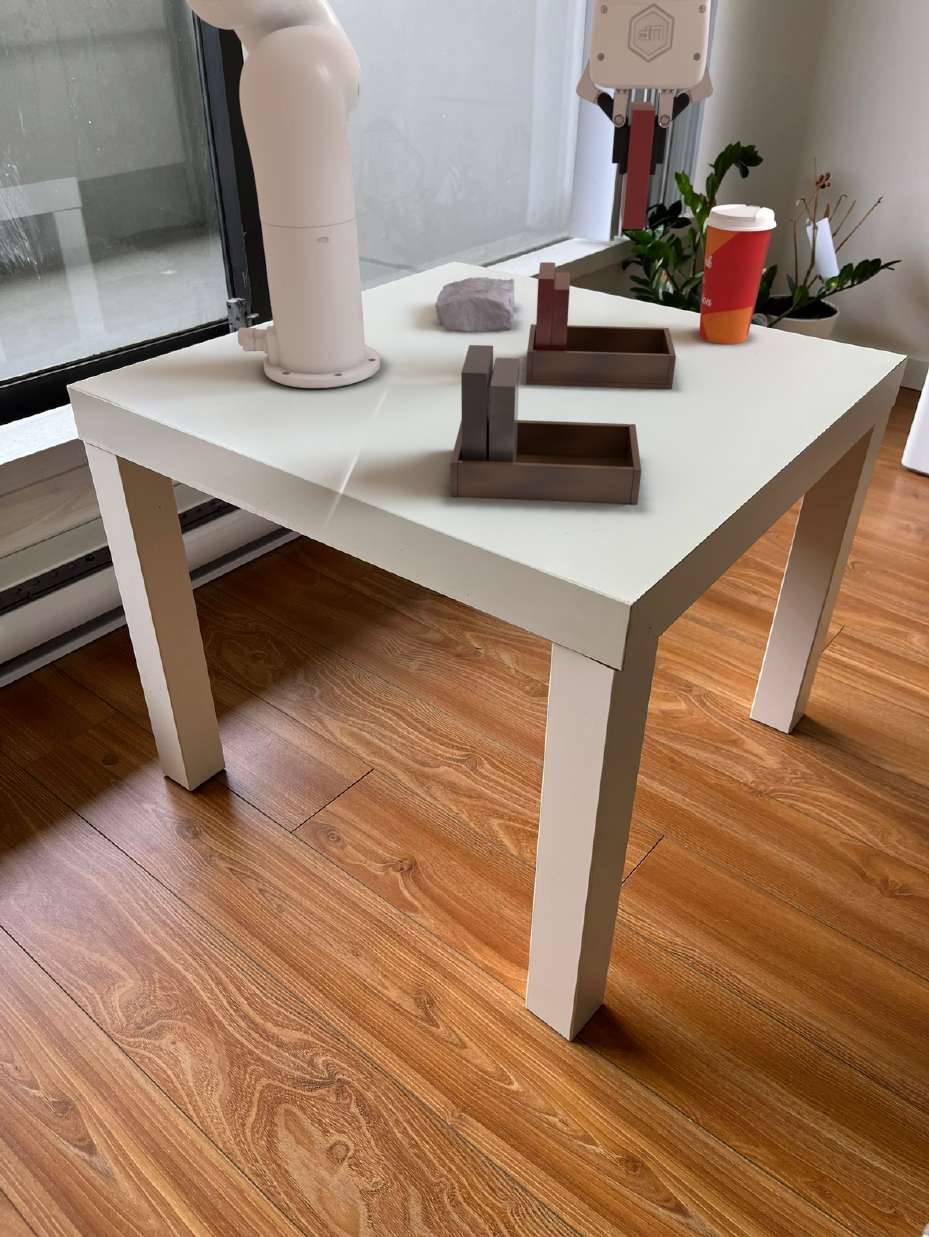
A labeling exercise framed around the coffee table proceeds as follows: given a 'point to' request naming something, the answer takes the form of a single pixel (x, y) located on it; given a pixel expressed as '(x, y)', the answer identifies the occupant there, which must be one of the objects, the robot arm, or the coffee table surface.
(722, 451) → the coffee table surface
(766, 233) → the paper cup
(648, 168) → the burgundy book
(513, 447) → the brown crate
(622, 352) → the brown open box
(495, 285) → the stone block
